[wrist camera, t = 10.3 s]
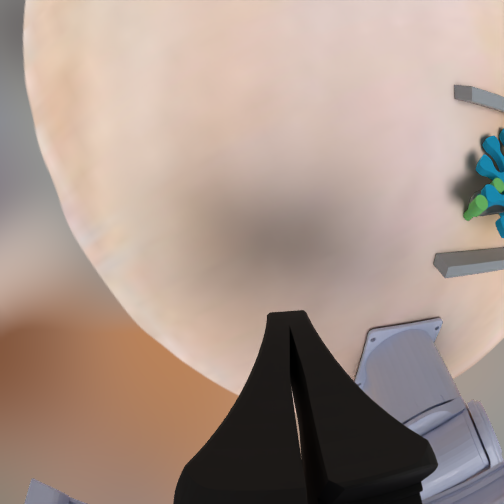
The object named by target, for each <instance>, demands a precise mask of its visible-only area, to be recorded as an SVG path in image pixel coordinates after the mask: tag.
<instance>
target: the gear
mask: <svg viewBox="0 0 504 504" xmlns="http://www.w3.org/2000/svg"><path fill="white" fill-rule="evenodd" d="M499 138H500V141H501V142H502V144H503V146H504V129H503V130H502V131H501V133H500V135H499ZM482 146H483V148H484V150H485V151H486V152H487V153H488V154H490V155H491V156H492V158H493V159H494V160H495V162H496V163H497V166H498V168H499V170H500V172H498V171H497V170H496V169H495V167H494V165H493V162H492V160H491V159H490V158H489V157H488V156H487V155H485V154H484V155H483V156H482V157H481V159H480V160H479V162H478V163H477V166H476V171H477V172H478V173H479V174H480V175H482V176H485V177H488V178H490V179H491V180H492V182H491V183H490V184H487V185H485V186H484V188H483V189H482V190H481V191H477V192H476V193H475V194H474V195H473V196H472V197H471V199H470V204H469V207H468V210H467V211H466V212H465V213H464V218H465V220H467V221H469V220H470V219H472V218H473V217H477V216H485V215H491V214H497V213H499V215H500V216H501V218H499V219H498V220H497V221H496V223H495V224H496V227H497V230H498V232H499V234H500V236H501V237H502V238H504V156H503V155H502V153H501V151H500V143H499V140H498V139H497V138H496V137H495V136H490V137H488V138H487V139H486V140H485V141H484V143H483V144H482Z"/></svg>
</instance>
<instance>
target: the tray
mask: <svg viewBox="0 0 504 504" xmlns="http://www.w3.org/2000/svg"><path fill="white" fill-rule="evenodd" d="M454 87H455V99H458V100H462V101H466V102H470V103H474V104H477V105H481V106H484V107H488V108H491V109H494V110H497V111H501V112H504V97H502V96H499V95H496V94H493V93H491V92H488V91H485V90H482V89H478V88H475V87H472V86H460V85H454ZM434 266H435V267H436V268H437V269H438V270H439V272H440V273H441V274H442V275H443V276H444V278H451V277H458V276H465V275H472V274H478V273H485V272H491V271H497V270H503V269H504V247H503V248H493V249H482V250H472V251H461V252H450V253H438V254H436V257H435V261H434Z"/></svg>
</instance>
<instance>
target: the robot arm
mask: <svg viewBox="0 0 504 504" xmlns="http://www.w3.org/2000/svg"><path fill="white" fill-rule="evenodd" d="M442 323H443V321H442V319H441V318H436V319H431V320H426V321H420V322H415V323H409V324H403V325H397V326H391V327H384V328H378V329H372V330H370V331H369V333H368V336H367V340H366V343H365V347H364V351H363V354H362V358H361V362H360V365H359V368H358V372H357V375H356V378H355V381H353V380H352V379H351V378H350V376H349V375H348V374H347V373H346V372H345V371H344V369H343V368H342V367H341V366H340V364H339V363H338V362H337V361H336V359H335V358H334V357H333V355H332V354H331V353H330V351H329V350H328V348H327V347H326V346H325V344H324V343H323V341H322V340H321V338H320V337H319V335H318V333H317V332H316V330H315V328H314V327H313V325H312V323H311V321H310V319H309V317H308V315H307V313H306V312H305V311H304V310H300V311H286V312H272V313H269V314H268V315H267V323H266V329H265V334H264V338H263V341H262V344H261V347H260V350H259V353H258V356H257V359H256V361H255V364H254V366H253V369H252V371H251V373H250V376H249V378H248V380H247V382H246V384H245V386H244V388H243V390H242V391H241V393H240V395H239V397H238V399H237V400H236V402H235V404H234V406H233V407H232V408H231V410H230V412H229V413H228V415H227V416H226V418H225V419H224V421H223V422H222V424H221V425H220V426H219V427H218V429H217V430H216V431H215V433H214V434H213V435H212V436H211V438H210V439H209V440H208V441H207V443H206V444H205V445H204V446H203V447H202V448H201V449H200V451H199V452H198V453H197V454H196V455H195V456H194V457H193V458H192V459H191V460H190V461H189V462H188V463H187V464H186V465H185V467H184V469H183V471H182V473H181V475H180V478H179V480H178V483H177V486H176V490H175V495H174V504H504V460H503V458H502V455H501V454H502V450H501V448H500V445H499V442H498V440H497V437H496V435H495V432H494V430H493V427H492V425H491V423H490V421H489V418H488V416H487V414H486V412H485V410H484V408H483V406H482V403H481V402H480V401H474V400H471V401H469V402H468V403H467V404H468V406H467V405H466V403H465V402H464V400H463V399H462V397H461V395H460V393H459V391H458V389H457V387H456V385H455V383H454V381H453V378H452V376H451V374H450V373H449V371H448V369H447V367H446V365H445V363H444V361H443V359H442V357H441V355H440V353H439V352H438V350H437V348H436V346H435V344H434V342H435V340H436V337H437V335H438V333H439V330H440V328H441V326H442ZM291 387H292V389H291ZM292 392H293V397H292ZM293 398H294V403H295V408H296V413H297V418H298V424H299V431H300V444H301V453H300V447H299V440H298V433H297V426H296V419H295V412H294V404H293ZM468 407H469V408H468ZM301 458H302V460H301ZM25 504H87V503H84V502H81V501H79V500H76V499H74V498H71V497H69V496H68V495H66V494H65V493H63V492H61V491H59V490H57V489H55V488H53V487H51V486H48V485H46V484H44V483H42V482H40V481H38V480H36V479H31V483H30V486H29V489H28V493H27V496H26V500H25Z"/></svg>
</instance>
